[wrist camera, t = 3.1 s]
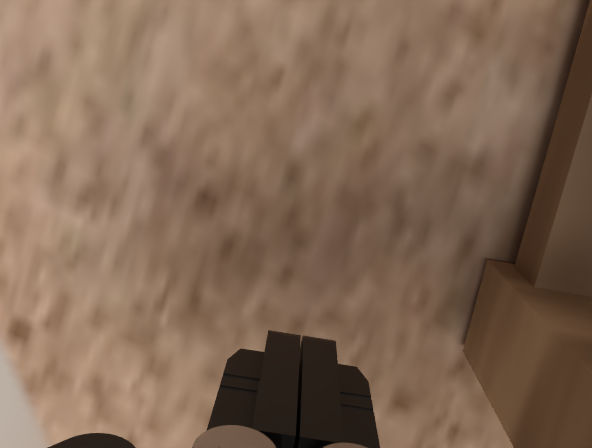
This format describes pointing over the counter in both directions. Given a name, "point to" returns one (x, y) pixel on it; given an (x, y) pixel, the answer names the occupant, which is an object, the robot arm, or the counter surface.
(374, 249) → the counter surface
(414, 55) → the counter surface
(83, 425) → the counter surface
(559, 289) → the lever
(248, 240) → the counter surface
